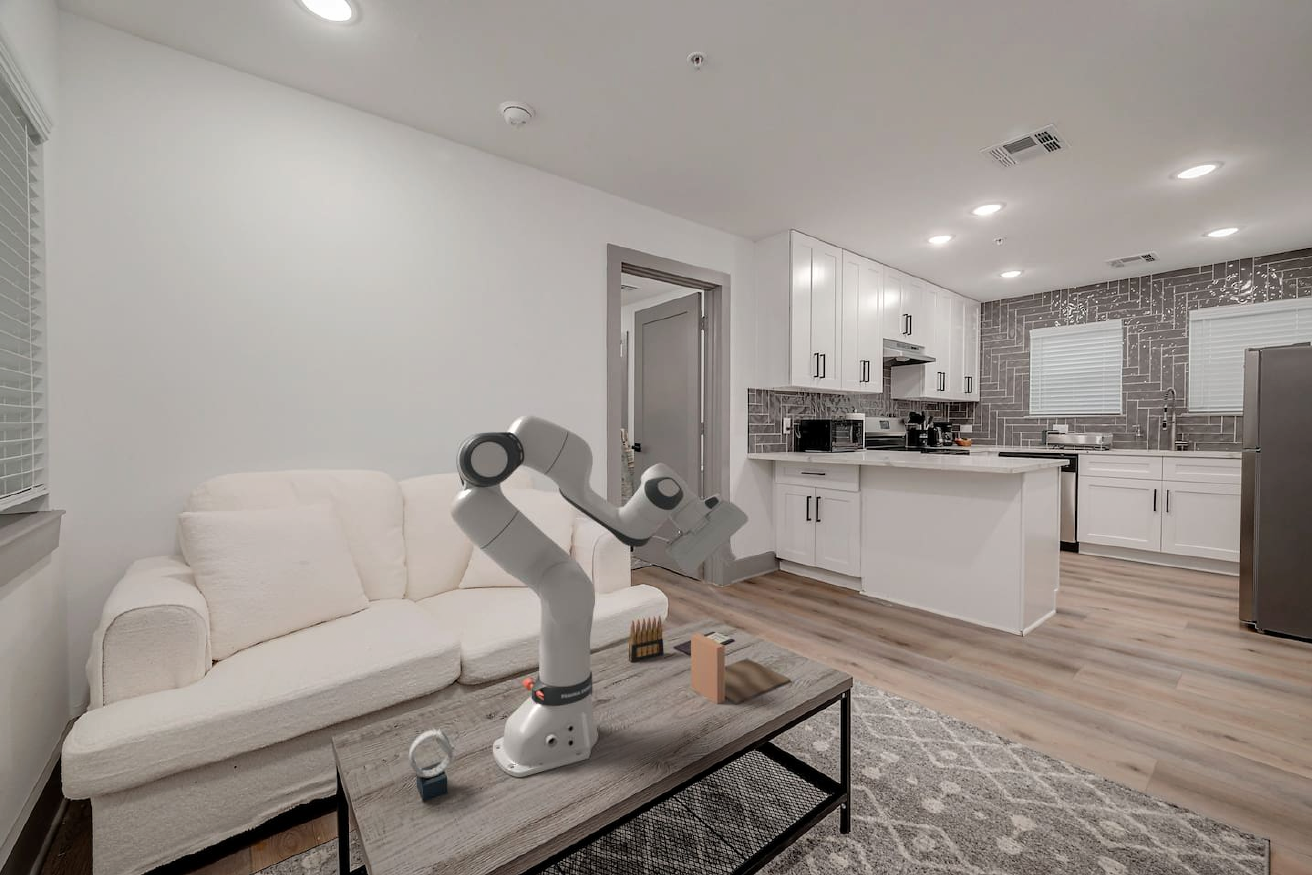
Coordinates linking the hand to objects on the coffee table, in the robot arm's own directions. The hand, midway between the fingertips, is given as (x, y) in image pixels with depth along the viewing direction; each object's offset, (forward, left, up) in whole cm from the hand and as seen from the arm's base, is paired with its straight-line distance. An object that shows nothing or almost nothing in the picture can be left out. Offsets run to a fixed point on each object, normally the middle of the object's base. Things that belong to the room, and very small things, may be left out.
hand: (732, 562), depth 130 cm
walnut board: (+13, +10, -36) cm, 40 cm away
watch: (-65, +14, -36) cm, 76 cm away
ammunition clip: (+1, +37, -36) cm, 52 cm away
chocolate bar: (+21, +34, -37) cm, 54 cm away
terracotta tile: (+1, +10, -36) cm, 38 cm away
